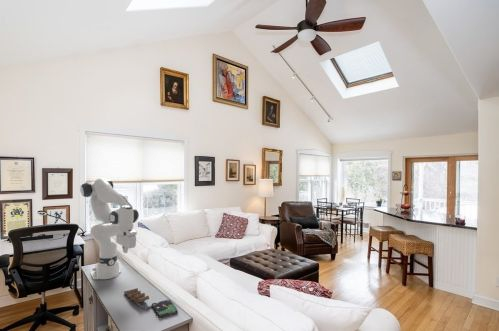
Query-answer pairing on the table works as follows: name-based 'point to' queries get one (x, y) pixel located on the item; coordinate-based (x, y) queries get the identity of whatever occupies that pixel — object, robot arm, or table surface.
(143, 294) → the domino
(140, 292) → the domino
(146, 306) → the end domino
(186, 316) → the table surface
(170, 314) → the disk drive
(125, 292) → the domino
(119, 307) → the table surface
